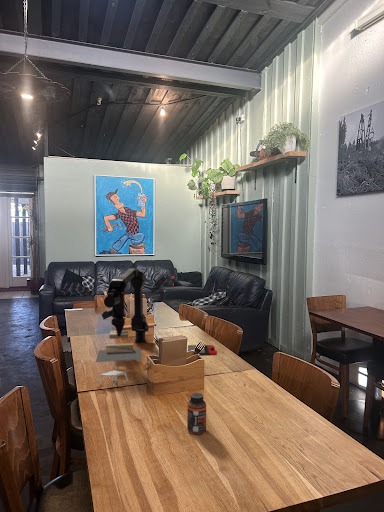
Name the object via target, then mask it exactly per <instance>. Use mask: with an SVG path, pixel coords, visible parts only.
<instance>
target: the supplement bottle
mask: <svg viewBox="0 0 384 512" xmlns="http://www.w3.org/2000/svg"><path fill="white" fill-rule="evenodd" d="M186 413H187V414H186V415H187V419H186V421H187V422H186V424H187V425H186V427H187V431H188V433H190V434H193V435H202V434H203V433H205V432H206V430H207V402H206V401H205V400H204V394H203V393H200V392H194V393H191V394H190V400H189V401H188V402H187V412H186Z"/></svg>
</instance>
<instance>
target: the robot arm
mask: <svg viewBox="0 0 384 512" xmlns="http://www.w3.org/2000/svg"><path fill="white" fill-rule="evenodd" d="M146 281H147V276H146V275H145V273H144V272H142V271H141V270H139V269H138V268H128V269H127V270H126V271H125V272H124V273H123V274H121V276H119V277H115V278H114V277H113V278H112V279H111V281H110V282H109V286H108V288H107V292H106V293H107V296H105V297H104V300H103V304H104V306H105V307H106V308H109V309H105V310H104V311H101V313H100V314H101V317H102V320H104V321H105V320H107V319H108V318H111V317H112V319H111V325H112V326H113V327H114V328H115V331H117V335H118V336H120V335H121V332H122V330H124V326H125V324H126V312H125V311H126V310H125V307H126V306H125V294H126V290H127V287H128V283H129V282H130V285H131V287H132V288H133V298H134V299H133V302H134V303H133V305H134V308H133V309H134V311H133V312H134V314H133V316H132V318H131V320H130V321H131V322H130V326H131V331H132V332H134V333H135V334H134V337H135V339H134V343H135V344H138V343H147V338H146V333H147V332H149V329H150V326H149V324H148V321H147V318H146V316H145V314H144V304H143V303H144V302H143V301H144V299H143V293H144V292H143V291H144V290H143V288H144V286H145V284H146Z"/></svg>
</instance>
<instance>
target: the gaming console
mask: <svg viewBox="0 0 384 512" xmlns="http://www.w3.org/2000/svg"><path fill="white" fill-rule="evenodd" d="M196 345H197V344H195V345H194V344H193V345H192V344H191V345H190V344H188V351H191V350H194V349H195V347H196ZM204 345H205V347H204V349H203V350H202V351H201V352H200V353H199V354H200V355H199V356H215V355H216V354H217V351H216V348H215V345H213V344H204Z"/></svg>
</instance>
